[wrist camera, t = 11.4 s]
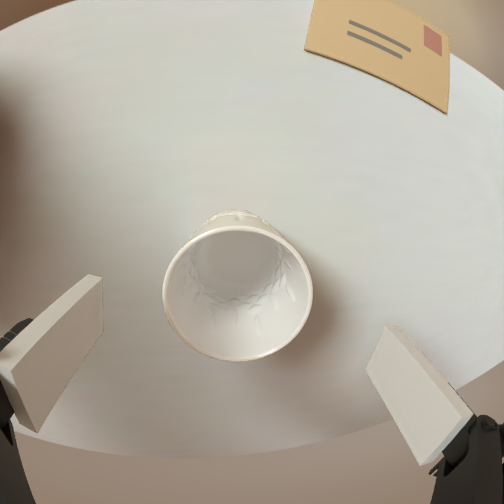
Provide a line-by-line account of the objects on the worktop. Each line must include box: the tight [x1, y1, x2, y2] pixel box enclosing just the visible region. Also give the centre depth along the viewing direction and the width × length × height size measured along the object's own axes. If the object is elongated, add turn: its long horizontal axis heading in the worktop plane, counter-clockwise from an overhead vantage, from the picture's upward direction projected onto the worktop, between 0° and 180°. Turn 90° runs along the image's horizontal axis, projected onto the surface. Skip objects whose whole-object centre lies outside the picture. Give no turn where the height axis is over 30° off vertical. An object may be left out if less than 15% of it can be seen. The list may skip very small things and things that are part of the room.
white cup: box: [162, 210, 313, 362], centre depth 19 cm, size 8×8×10 cm
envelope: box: [304, 0, 449, 113], centre depth 19 cm, size 16×11×1 cm
